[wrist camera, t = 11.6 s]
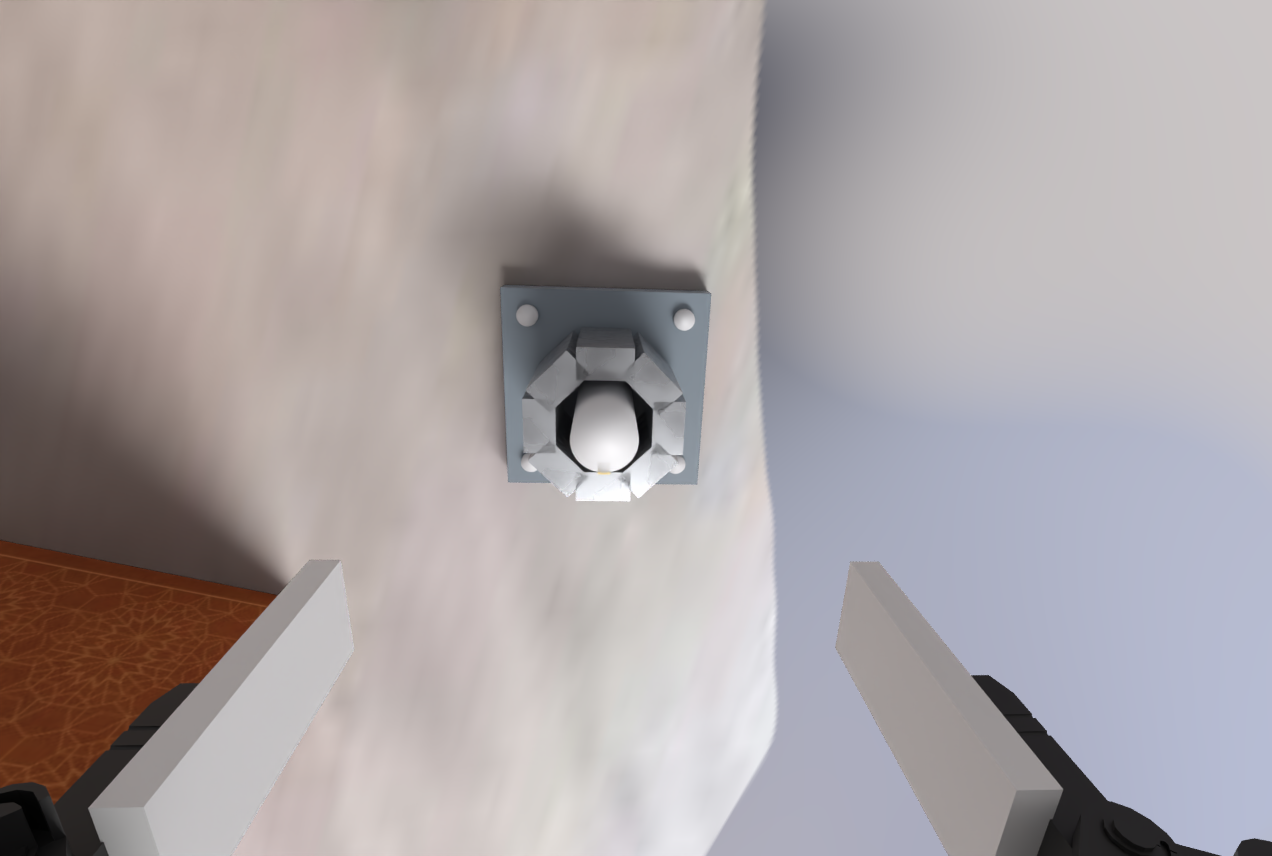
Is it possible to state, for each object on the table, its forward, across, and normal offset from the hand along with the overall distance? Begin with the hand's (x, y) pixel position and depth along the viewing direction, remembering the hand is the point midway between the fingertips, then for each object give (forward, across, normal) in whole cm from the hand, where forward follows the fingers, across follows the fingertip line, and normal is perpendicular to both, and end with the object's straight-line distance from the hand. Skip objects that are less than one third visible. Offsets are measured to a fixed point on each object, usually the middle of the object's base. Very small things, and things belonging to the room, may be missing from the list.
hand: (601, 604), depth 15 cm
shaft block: (+23, 0, 0) cm, 23 cm away
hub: (+20, 0, 0) cm, 21 cm away
